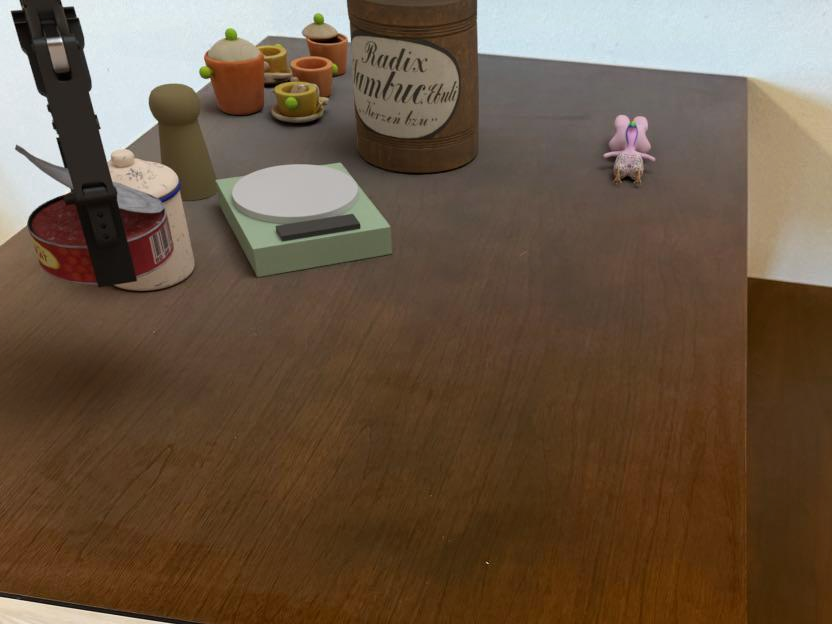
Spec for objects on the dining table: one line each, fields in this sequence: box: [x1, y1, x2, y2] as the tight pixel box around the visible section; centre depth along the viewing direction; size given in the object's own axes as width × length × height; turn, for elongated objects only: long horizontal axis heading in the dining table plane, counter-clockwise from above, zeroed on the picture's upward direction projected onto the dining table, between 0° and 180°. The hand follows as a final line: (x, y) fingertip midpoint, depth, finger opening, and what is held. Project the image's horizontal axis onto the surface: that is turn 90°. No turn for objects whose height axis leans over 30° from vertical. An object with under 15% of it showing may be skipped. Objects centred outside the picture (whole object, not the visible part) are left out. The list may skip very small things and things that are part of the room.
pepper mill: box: [148, 83, 218, 202], centre depth 105 cm, size 6×6×11 cm
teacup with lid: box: [107, 148, 196, 292], centre depth 91 cm, size 12×9×12 cm
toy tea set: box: [198, 12, 349, 124], centre depth 129 cm, size 26×16×10 cm, turn 174°
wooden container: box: [346, 0, 480, 174], centre depth 112 cm, size 15×15×22 cm
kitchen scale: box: [215, 162, 393, 278], centre depth 101 cm, size 17×14×4 cm
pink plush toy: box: [602, 114, 656, 185], centre depth 117 cm, size 6×6×15 cm
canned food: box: [14, 144, 174, 286], centre depth 72 cm, size 11×10×10 cm
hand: (106, 249), depth 74 cm, fingers closed on canned food, 10 cm apart
